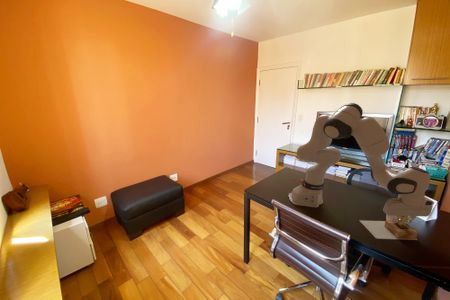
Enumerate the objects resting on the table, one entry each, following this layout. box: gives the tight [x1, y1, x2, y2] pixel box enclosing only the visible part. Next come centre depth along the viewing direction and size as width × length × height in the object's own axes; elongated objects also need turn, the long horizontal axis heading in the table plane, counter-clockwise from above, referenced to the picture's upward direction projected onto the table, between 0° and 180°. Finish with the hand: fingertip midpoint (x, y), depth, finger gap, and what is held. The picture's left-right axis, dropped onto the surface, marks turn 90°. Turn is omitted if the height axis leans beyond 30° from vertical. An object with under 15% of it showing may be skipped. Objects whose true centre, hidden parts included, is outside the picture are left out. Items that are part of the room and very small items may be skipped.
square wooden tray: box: [384, 220, 419, 240], centre depth 99 cm, size 9×9×4 cm
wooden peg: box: [397, 216, 409, 229], centre depth 98 cm, size 3×3×12 cm
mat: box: [359, 219, 418, 241], centre depth 102 cm, size 20×14×1 cm
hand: (402, 221), depth 98 cm, fingers open, 4 cm apart
